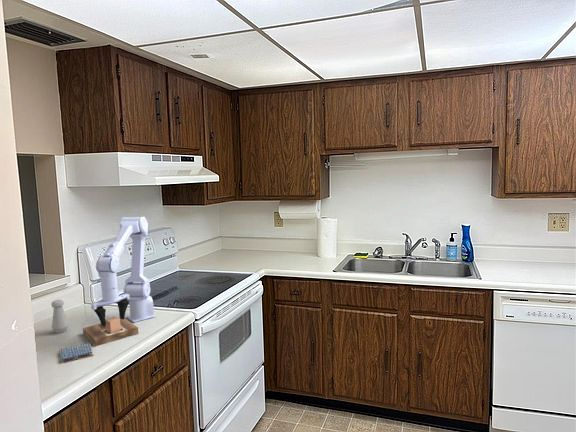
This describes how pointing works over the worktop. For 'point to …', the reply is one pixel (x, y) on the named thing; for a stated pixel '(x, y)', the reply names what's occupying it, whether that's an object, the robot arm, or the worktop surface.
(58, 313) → the salt shaker
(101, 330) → the wooden peg board
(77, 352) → the woven mat
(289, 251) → the worktop surface
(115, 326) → the pin
